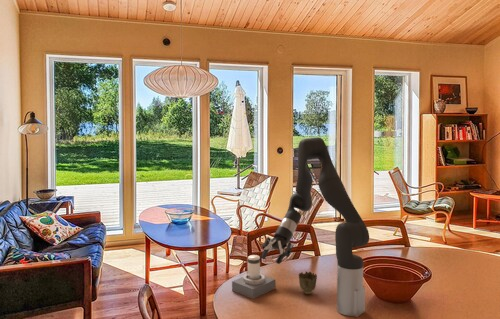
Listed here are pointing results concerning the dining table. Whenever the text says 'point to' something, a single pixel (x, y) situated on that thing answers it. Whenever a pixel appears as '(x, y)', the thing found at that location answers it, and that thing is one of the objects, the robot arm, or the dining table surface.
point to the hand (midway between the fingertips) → (269, 260)
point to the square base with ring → (253, 286)
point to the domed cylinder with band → (253, 267)
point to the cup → (307, 282)
